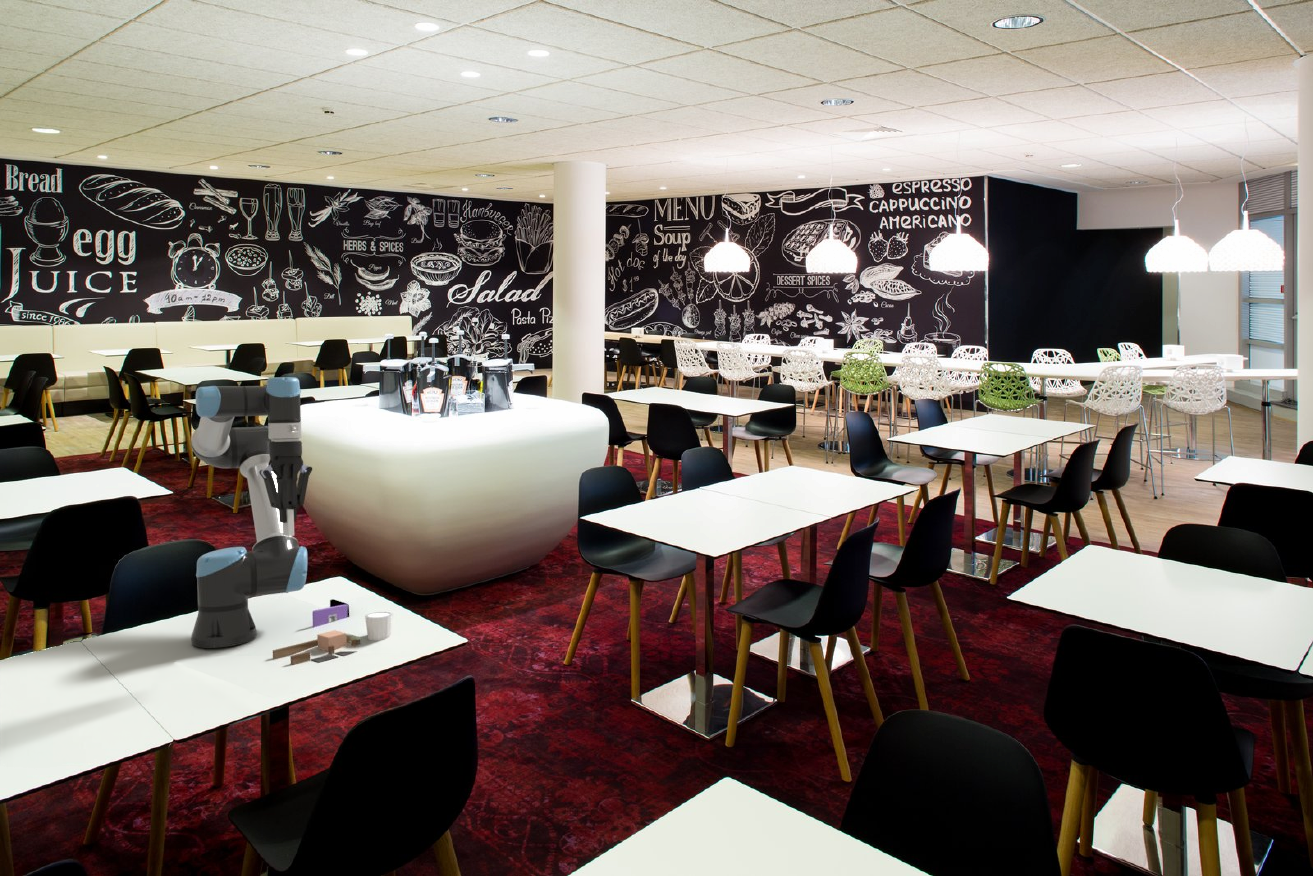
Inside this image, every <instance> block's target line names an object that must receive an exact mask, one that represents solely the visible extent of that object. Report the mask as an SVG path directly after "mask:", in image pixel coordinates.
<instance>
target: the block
mask: <svg viewBox="0 0 1313 876" xmlns="http://www.w3.org/2000/svg"><path fill="white" fill-rule="evenodd" d="M316 635H317V636H316V638H317V641H318V646H317V648H318V649H319V650H323V651H325V652H327V653H328V646H331V645H333V646H334V651H336V650H339V649H341V648H345V647H348V644H347V642H348V641H347V637H346V632H344V631H339V630H336V629H334V630H330V631H326V632H323V633H318V634H316Z"/></svg>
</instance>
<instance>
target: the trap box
mask: <svg viewBox="0 0 1313 876" xmlns="http://www.w3.org/2000/svg"><path fill="white" fill-rule="evenodd" d="M345 633H346V632H345ZM346 637H347V642H348V643H350V644H351V646H352V647H357V646H359V645H361V640H362V639H361V637H360V636H359V635H358V636H357V635H354V634H350V633H346ZM315 647H318V641H317V639H313V640H309V641H304V642H301V643H297V644H291V645H289V646H285V647H281V648H277V649H273V650H272V659H273V660H277V659H281V658H286V657H288V656H290V665H292V666H294V665H298V664H301V663H305V662H310V661H313V662H316V663H323V662H326V661H327V662H328V661H330V660H334V659H337V658H339V656H342V657H345V656H348V655H353V654H354V653H355V654H356V653H357V652H358V651H357V650H353V651H352V650H351V651H338V652H335V650H334V646H333V645H331V646H328V652H327V653H328V654H326V655H323V656H318V657H315V658H311V652H310V651H307V650H309V649H313V648H315ZM304 651H305V652H304Z"/></svg>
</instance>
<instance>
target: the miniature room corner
mask: <svg viewBox="0 0 1313 876" xmlns="http://www.w3.org/2000/svg"><path fill="white" fill-rule="evenodd" d="M311 613H312V627H313V628H316V627H321V626H323V625H326V624H330V623H332V622H331V617H333V621H335V622H337V621H340V620H343V619H348V618H350V606H349V604H348V603H346V602H343V601H341V600H338V599H334V598H331V599H330V600H329V607H324V608H321V609H320V608H319V609H315V610H312V612H311Z"/></svg>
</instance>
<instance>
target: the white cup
mask: <svg viewBox="0 0 1313 876" xmlns="http://www.w3.org/2000/svg"><path fill="white" fill-rule="evenodd" d="M393 615H394V614H393V613H392V612H389V611H377V612H372V613H368V614H366V615H365V616H364V617H365V618H364V619H365V626H366V633H367V638H368V640H370V641H382V640H386V639H389V638H390V637H391V636H392V634H393V633H392V631H393V630H392V629H393V617H394V616H393Z"/></svg>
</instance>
